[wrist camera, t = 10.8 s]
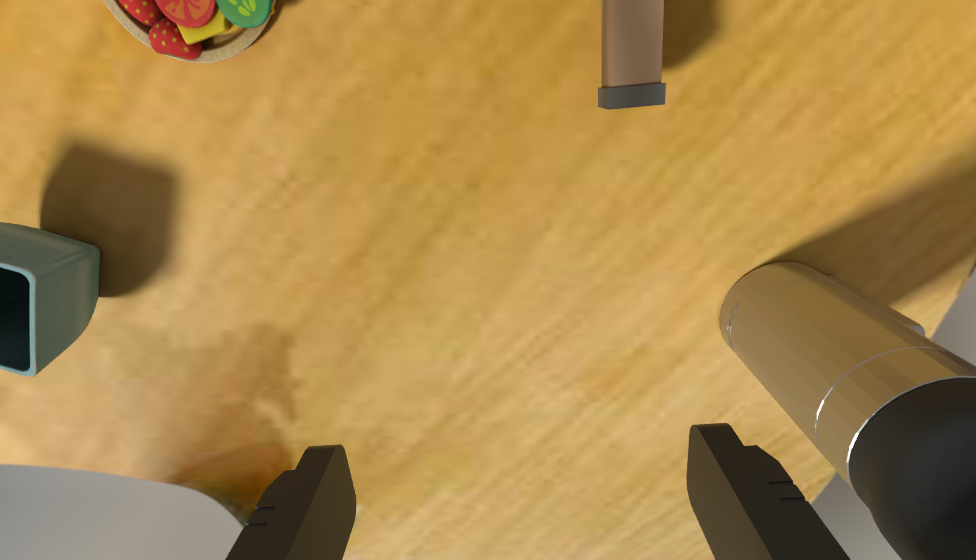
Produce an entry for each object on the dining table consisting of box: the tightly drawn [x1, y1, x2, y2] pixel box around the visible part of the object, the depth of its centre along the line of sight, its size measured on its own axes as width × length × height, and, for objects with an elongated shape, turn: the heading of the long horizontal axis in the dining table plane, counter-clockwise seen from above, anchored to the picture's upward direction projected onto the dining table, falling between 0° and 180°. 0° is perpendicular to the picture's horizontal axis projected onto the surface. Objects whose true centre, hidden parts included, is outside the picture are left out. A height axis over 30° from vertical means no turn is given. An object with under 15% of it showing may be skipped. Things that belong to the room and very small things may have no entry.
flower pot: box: [0, 222, 100, 377], centre depth 39 cm, size 9×9×9 cm
